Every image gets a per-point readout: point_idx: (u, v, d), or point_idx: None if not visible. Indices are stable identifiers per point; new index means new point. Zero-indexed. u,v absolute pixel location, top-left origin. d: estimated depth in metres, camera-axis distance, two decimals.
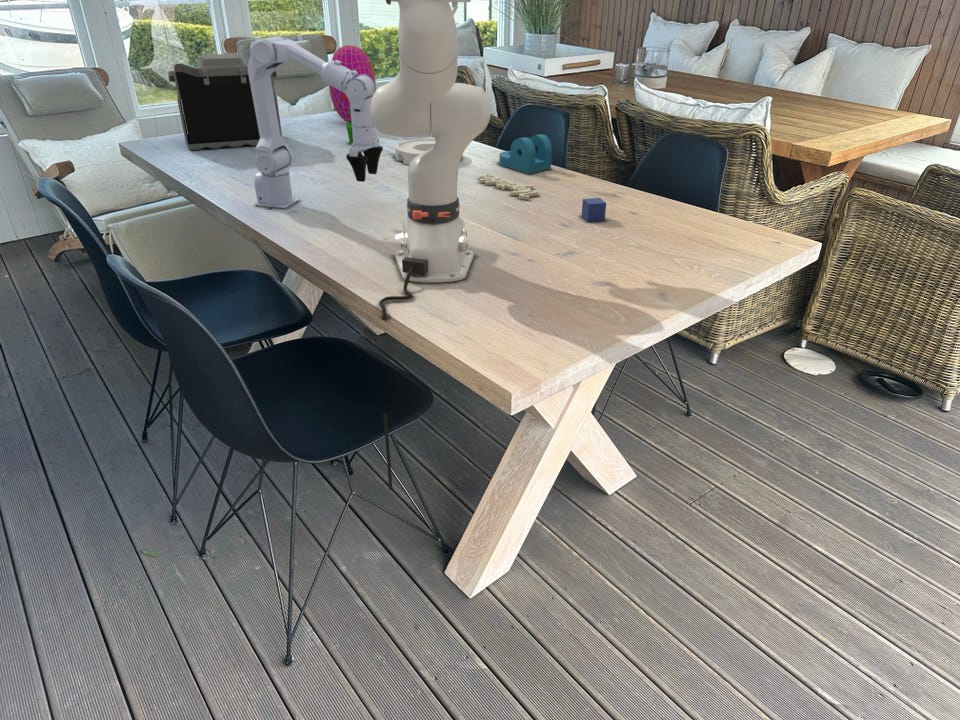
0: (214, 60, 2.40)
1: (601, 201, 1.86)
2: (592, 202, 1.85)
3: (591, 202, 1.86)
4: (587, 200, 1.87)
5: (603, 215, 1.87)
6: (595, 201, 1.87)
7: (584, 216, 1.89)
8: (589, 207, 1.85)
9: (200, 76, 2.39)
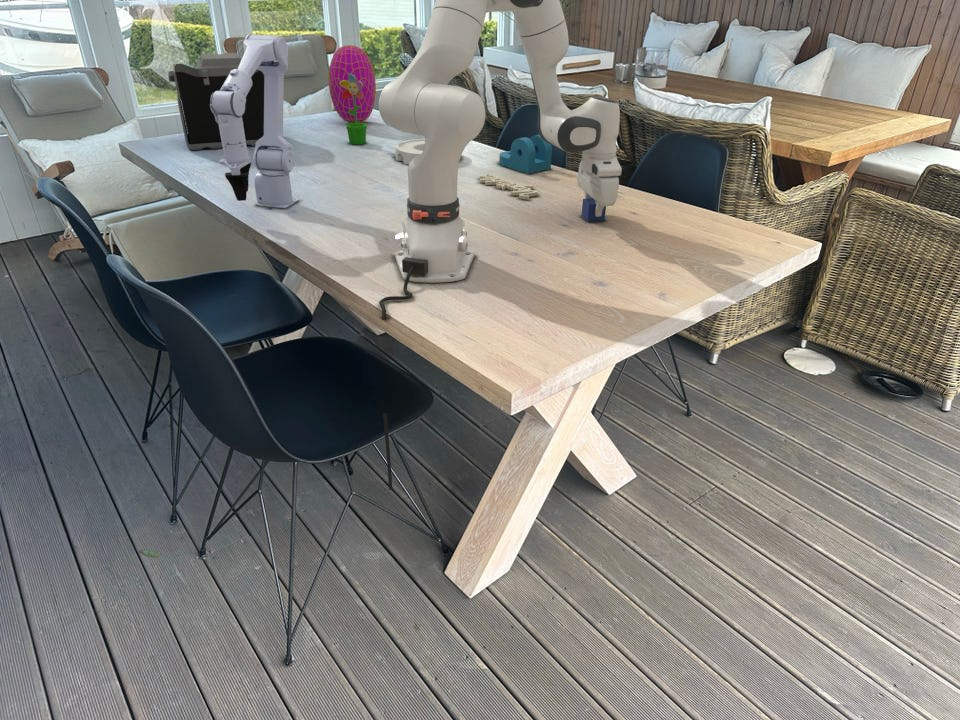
0: (214, 60, 2.40)
1: None
2: (592, 202, 1.85)
3: (591, 202, 1.86)
4: (587, 200, 1.87)
5: (603, 215, 1.87)
6: (595, 201, 1.87)
7: (584, 216, 1.89)
8: (589, 207, 1.85)
9: (200, 76, 2.39)
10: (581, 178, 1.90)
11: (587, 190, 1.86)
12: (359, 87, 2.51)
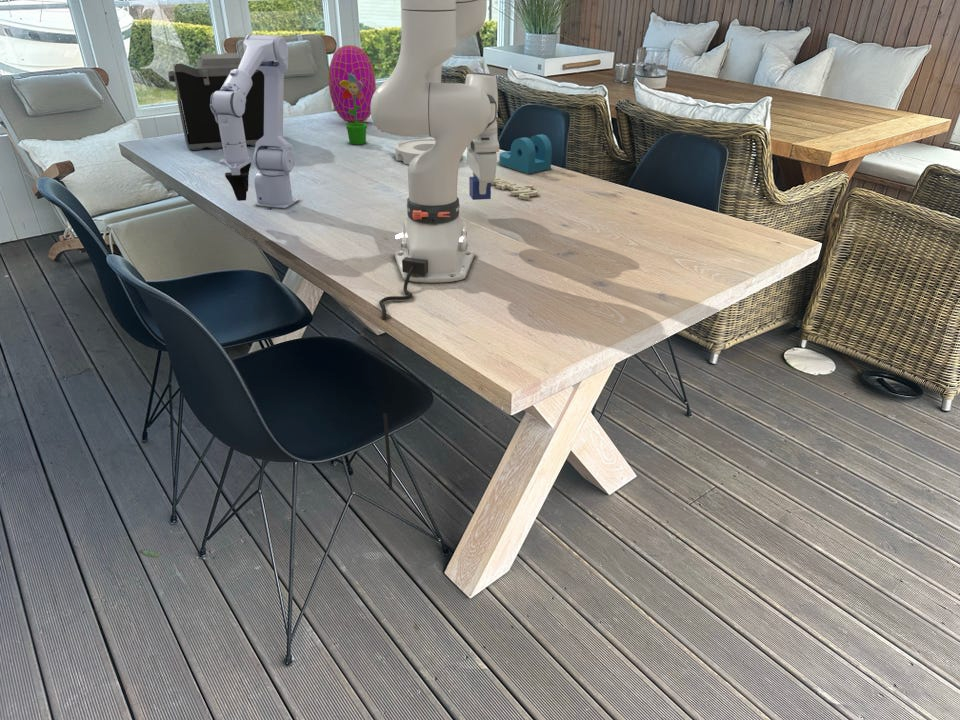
0: (214, 60, 2.40)
1: None
2: (476, 180, 1.84)
3: (475, 180, 1.84)
4: (473, 178, 1.86)
5: (489, 193, 1.86)
6: None
7: (471, 194, 1.87)
8: (473, 185, 1.84)
9: (200, 76, 2.39)
10: (468, 156, 1.88)
11: (472, 168, 1.85)
12: (359, 87, 2.51)
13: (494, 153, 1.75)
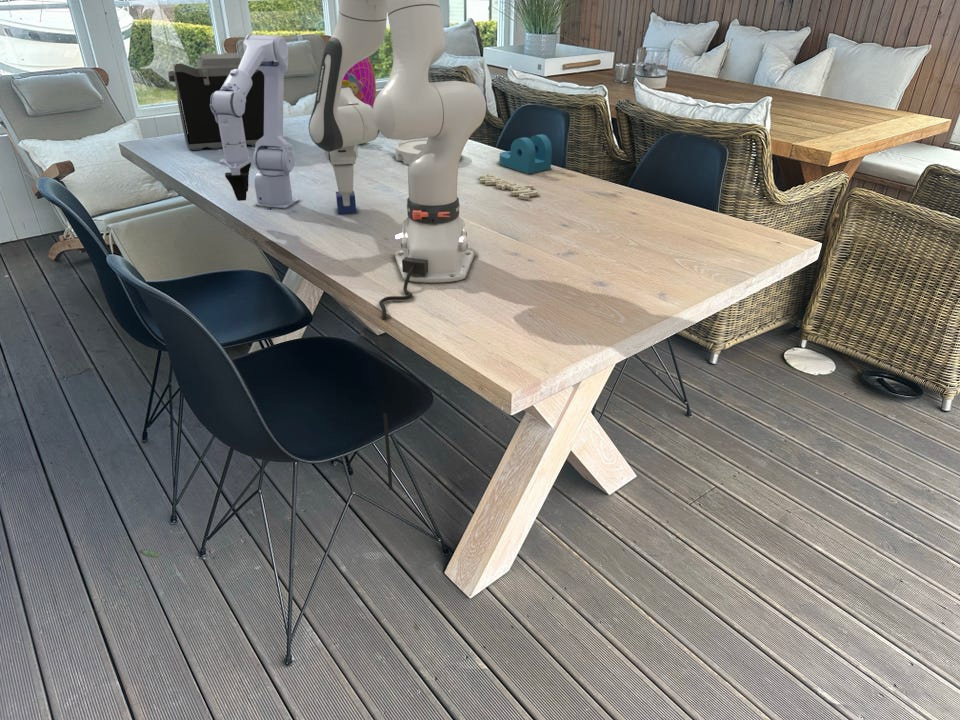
0: (214, 60, 2.40)
1: (351, 194, 1.90)
2: (340, 195, 1.89)
3: (340, 194, 1.89)
4: (338, 193, 1.90)
5: (354, 207, 1.90)
6: None
7: None
8: (337, 200, 1.88)
9: (200, 76, 2.39)
10: None
11: None
12: (359, 87, 2.51)
13: (350, 165, 1.79)
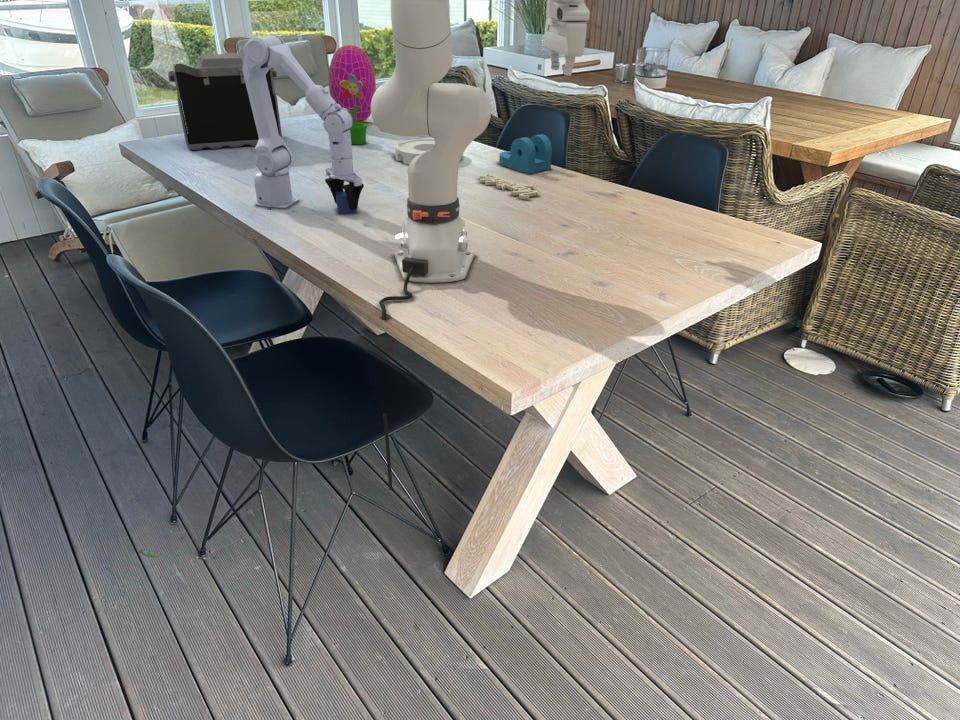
0: (214, 60, 2.40)
1: None
2: (340, 195, 1.89)
3: (340, 194, 1.89)
4: (338, 193, 1.90)
5: None
6: (345, 194, 1.90)
7: (337, 208, 1.92)
8: (337, 199, 1.88)
9: (200, 76, 2.39)
10: (547, 35, 1.71)
11: (553, 46, 1.68)
12: (359, 87, 2.51)
13: (584, 22, 1.57)
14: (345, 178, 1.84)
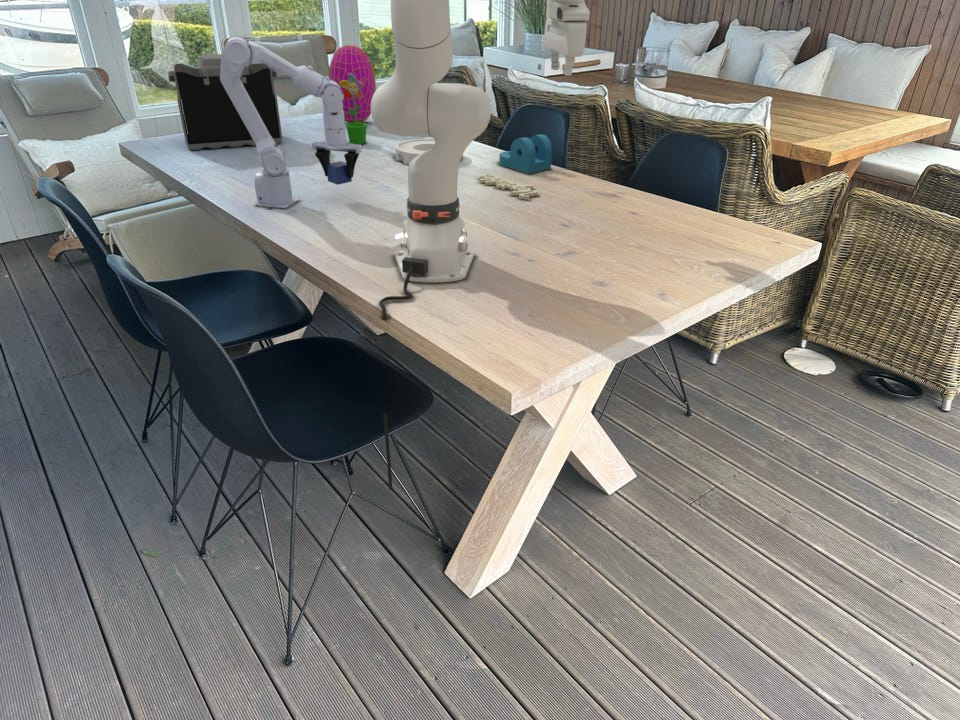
0: (214, 60, 2.40)
1: (344, 163, 1.97)
2: (337, 165, 1.95)
3: (336, 165, 1.95)
4: (331, 164, 1.96)
5: None
6: (339, 164, 1.96)
7: (332, 180, 1.97)
8: (336, 170, 1.94)
9: (200, 76, 2.39)
10: (547, 35, 1.71)
11: (553, 46, 1.68)
12: (359, 87, 2.51)
13: (584, 22, 1.57)
14: (346, 147, 1.91)
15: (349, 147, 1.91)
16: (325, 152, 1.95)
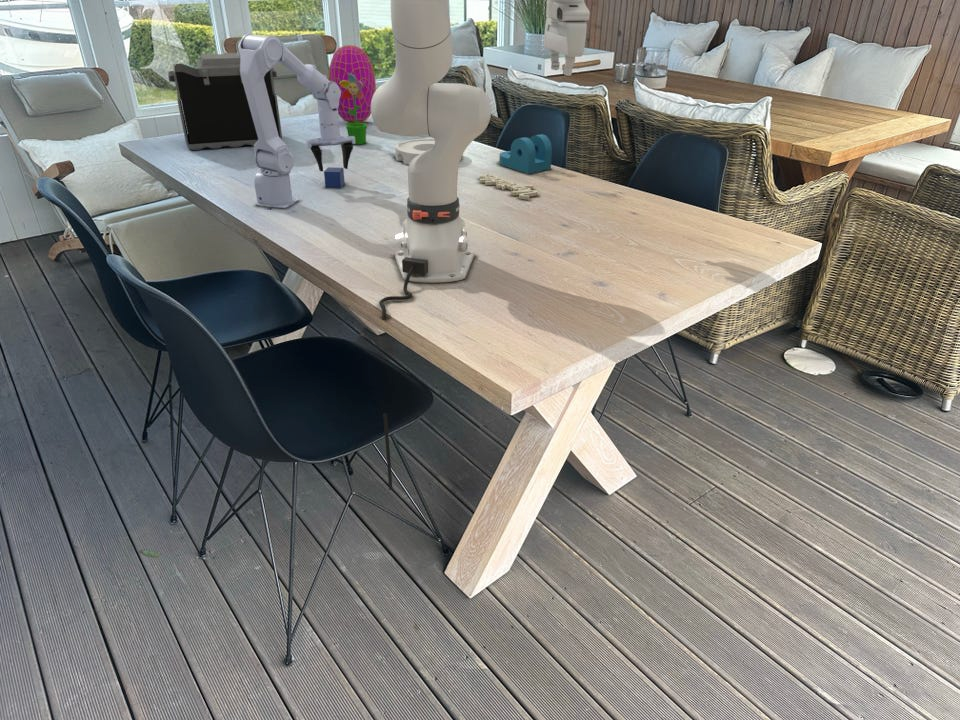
0: (214, 60, 2.40)
1: (337, 168, 2.13)
2: (337, 170, 2.10)
3: (335, 170, 2.10)
4: (330, 171, 2.10)
5: None
6: (335, 169, 2.11)
7: (332, 185, 2.11)
8: (339, 174, 2.10)
9: (200, 76, 2.39)
10: (547, 35, 1.71)
11: (553, 46, 1.68)
12: (359, 87, 2.51)
13: (584, 22, 1.57)
14: (344, 139, 2.07)
15: (347, 139, 2.07)
16: None
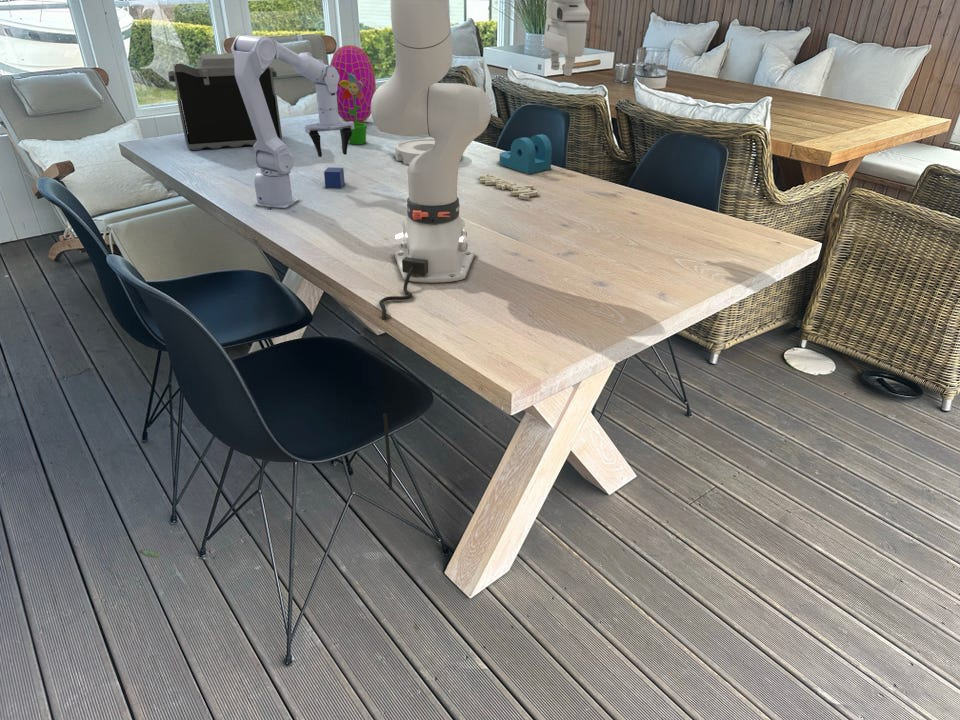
0: (214, 60, 2.40)
1: (337, 168, 2.13)
2: (337, 170, 2.10)
3: (335, 170, 2.10)
4: (330, 171, 2.10)
5: None
6: (335, 169, 2.11)
7: (332, 185, 2.11)
8: (339, 174, 2.10)
9: (200, 76, 2.39)
10: (547, 35, 1.71)
11: (553, 46, 1.68)
12: (359, 87, 2.51)
13: (584, 22, 1.57)
14: (343, 125, 2.04)
15: (346, 124, 2.05)
16: None
